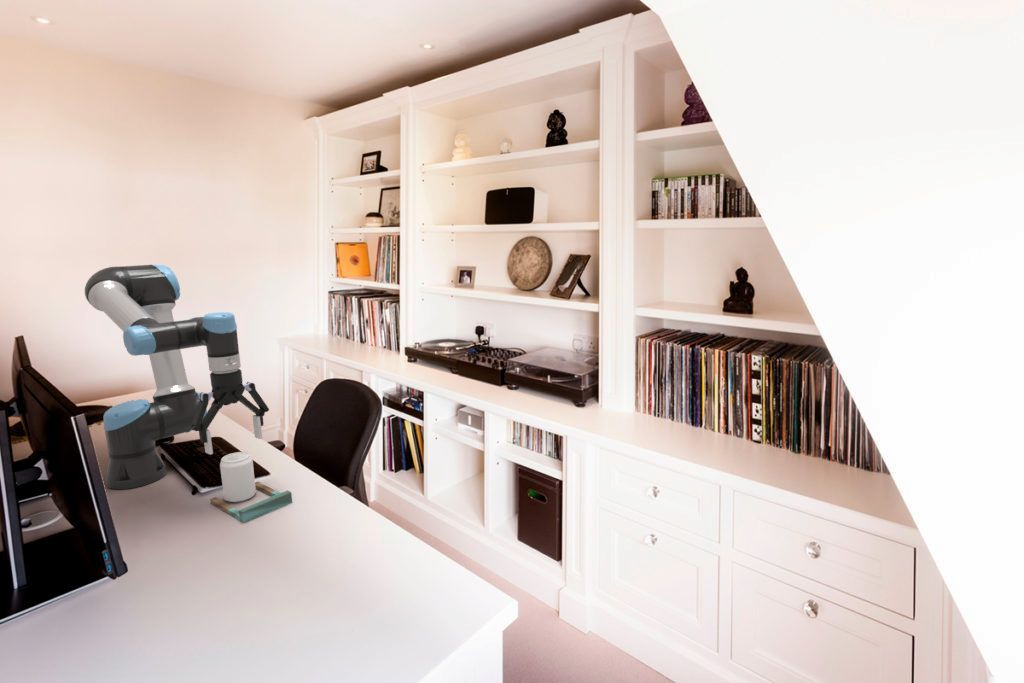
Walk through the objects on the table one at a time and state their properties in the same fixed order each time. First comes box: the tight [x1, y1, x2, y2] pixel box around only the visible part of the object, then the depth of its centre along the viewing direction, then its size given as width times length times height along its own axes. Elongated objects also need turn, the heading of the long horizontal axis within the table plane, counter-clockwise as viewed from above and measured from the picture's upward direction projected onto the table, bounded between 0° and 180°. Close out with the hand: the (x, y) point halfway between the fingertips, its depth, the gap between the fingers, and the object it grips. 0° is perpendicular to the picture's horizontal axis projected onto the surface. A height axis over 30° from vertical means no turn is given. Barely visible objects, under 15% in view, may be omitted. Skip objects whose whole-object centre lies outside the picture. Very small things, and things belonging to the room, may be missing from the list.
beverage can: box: [219, 451, 257, 503], centre depth 152 cm, size 8×8×12 cm
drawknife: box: [210, 481, 293, 524], centre depth 149 cm, size 18×14×3 cm
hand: (234, 445), depth 150 cm, fingers open, 13 cm apart
